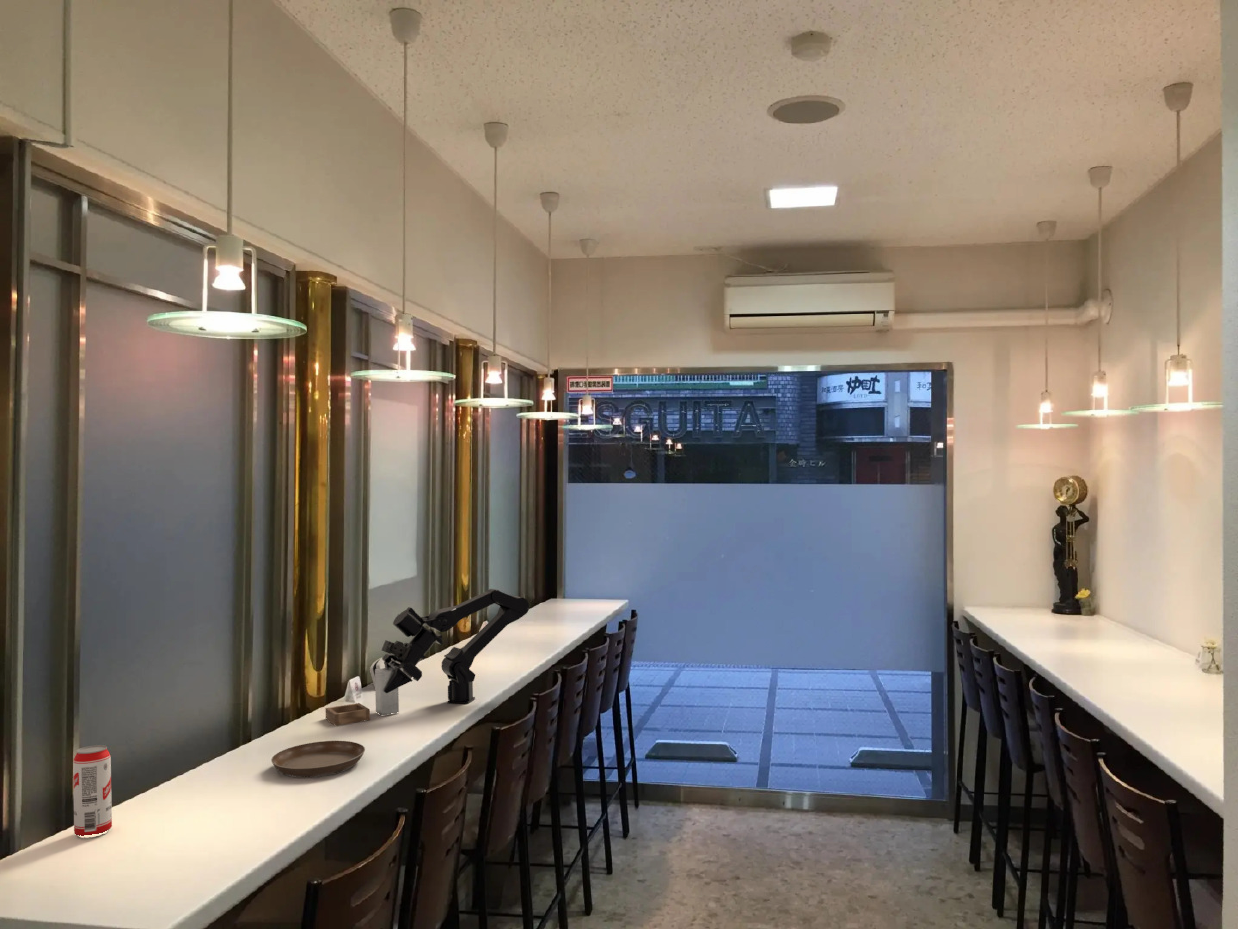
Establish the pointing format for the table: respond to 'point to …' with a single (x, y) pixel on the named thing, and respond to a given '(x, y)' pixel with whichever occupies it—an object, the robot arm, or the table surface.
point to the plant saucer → (318, 758)
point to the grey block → (385, 701)
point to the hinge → (376, 665)
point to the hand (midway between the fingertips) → (382, 690)
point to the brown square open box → (347, 714)
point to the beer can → (92, 790)
